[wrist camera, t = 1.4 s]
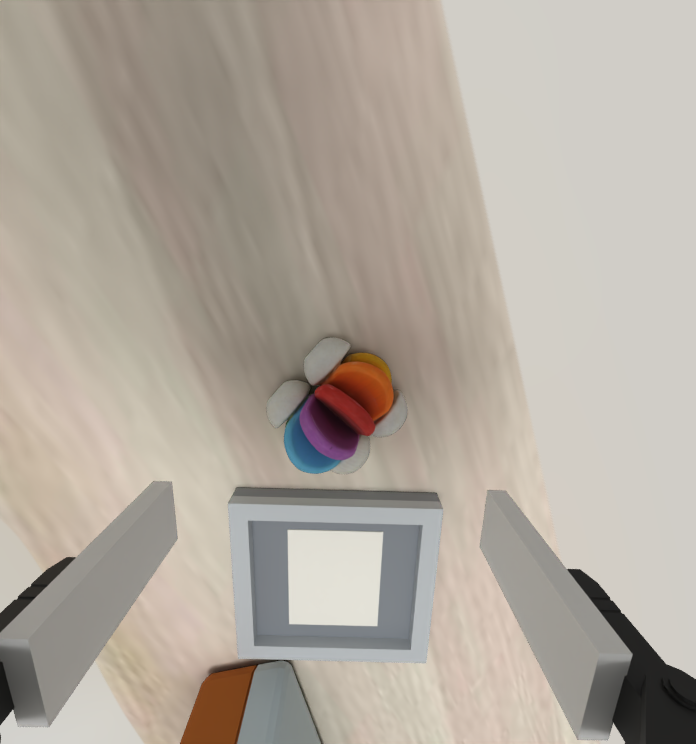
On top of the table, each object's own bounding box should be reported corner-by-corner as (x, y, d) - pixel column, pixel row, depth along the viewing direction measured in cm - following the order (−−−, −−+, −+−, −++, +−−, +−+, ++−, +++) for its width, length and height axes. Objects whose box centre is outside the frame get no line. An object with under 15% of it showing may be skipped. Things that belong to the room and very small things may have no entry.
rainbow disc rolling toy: (419, 390, 27) (443, 427, 20) (337, 471, 29) (333, 531, 22) (339, 317, 26) (335, 330, 19) (258, 407, 28) (227, 450, 21)
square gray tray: (236, 487, 29) (227, 503, 27) (436, 492, 29) (443, 509, 27) (245, 634, 33) (238, 658, 31) (421, 638, 33) (426, 663, 31)
